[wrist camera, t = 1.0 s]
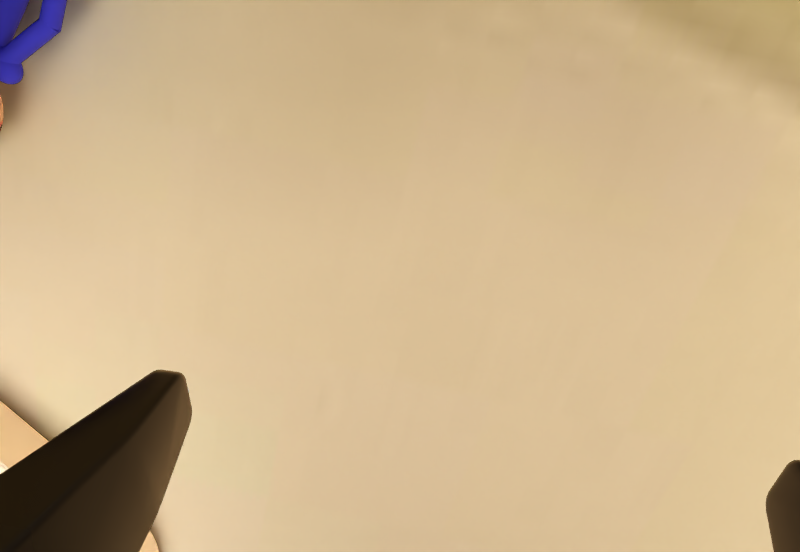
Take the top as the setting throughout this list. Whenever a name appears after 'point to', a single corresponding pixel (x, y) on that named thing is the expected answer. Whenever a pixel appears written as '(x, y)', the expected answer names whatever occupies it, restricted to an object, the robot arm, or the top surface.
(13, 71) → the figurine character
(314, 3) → the top surface
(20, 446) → the computer
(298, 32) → the top surface
